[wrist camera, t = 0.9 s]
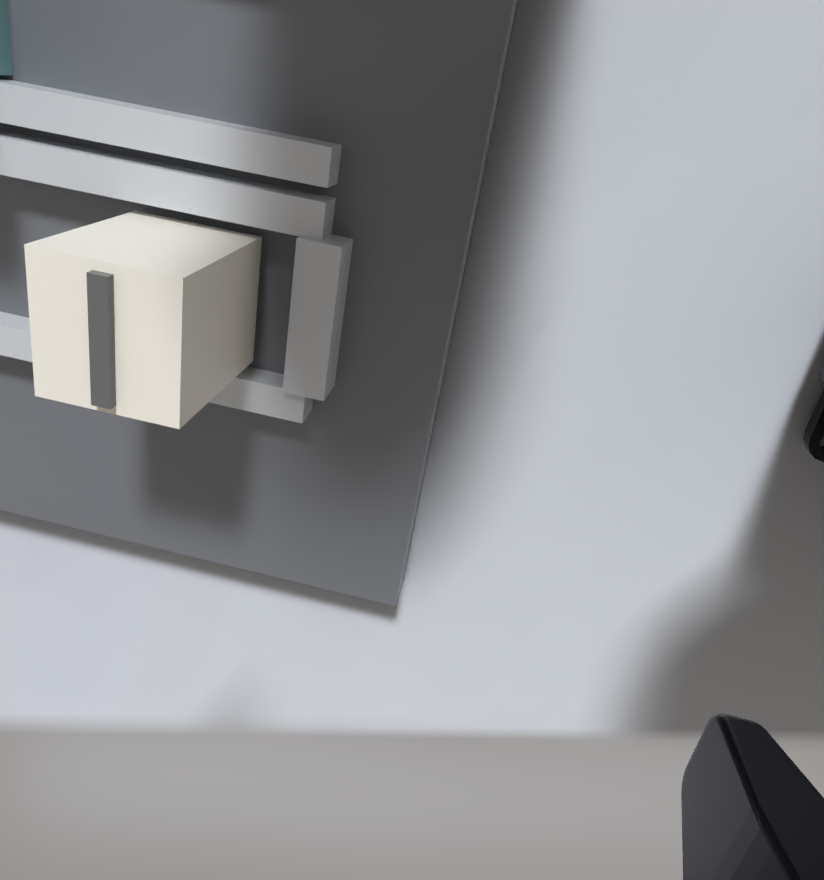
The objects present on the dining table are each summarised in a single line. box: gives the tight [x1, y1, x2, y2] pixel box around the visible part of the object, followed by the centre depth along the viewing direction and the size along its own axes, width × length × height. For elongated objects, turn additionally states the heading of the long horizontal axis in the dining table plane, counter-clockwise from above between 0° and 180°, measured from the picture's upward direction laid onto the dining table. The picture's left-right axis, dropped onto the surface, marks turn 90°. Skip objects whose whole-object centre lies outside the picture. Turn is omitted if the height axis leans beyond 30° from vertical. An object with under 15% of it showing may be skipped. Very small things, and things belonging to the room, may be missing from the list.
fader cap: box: [24, 211, 262, 429], centre depth 16 cm, size 3×3×4 cm
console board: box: [0, 0, 518, 606], centre depth 17 cm, size 20×16×5 cm
